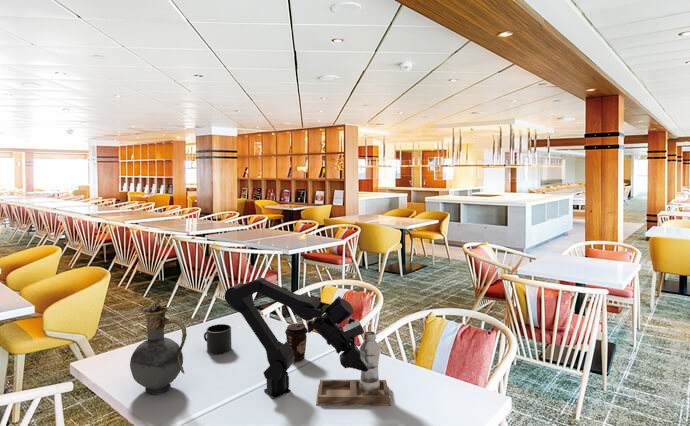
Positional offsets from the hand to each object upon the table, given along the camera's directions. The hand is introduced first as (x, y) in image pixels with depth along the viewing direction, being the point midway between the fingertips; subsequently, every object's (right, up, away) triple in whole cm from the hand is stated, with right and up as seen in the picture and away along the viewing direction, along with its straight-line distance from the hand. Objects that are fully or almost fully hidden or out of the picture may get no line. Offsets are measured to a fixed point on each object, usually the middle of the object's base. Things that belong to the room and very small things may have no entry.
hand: (364, 363), depth 136 cm
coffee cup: (-25, -8, +28) cm, 38 cm away
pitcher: (-66, -10, +5) cm, 67 cm away
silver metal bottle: (+2, -10, +1) cm, 10 cm away
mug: (-58, -7, +37) cm, 69 cm away
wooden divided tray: (-4, -10, +1) cm, 11 cm away
